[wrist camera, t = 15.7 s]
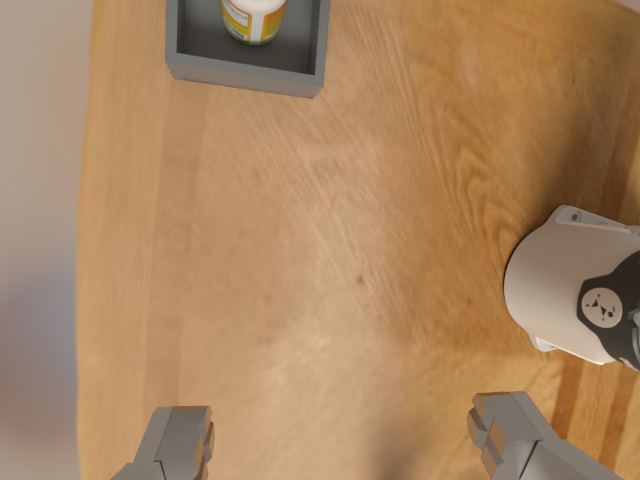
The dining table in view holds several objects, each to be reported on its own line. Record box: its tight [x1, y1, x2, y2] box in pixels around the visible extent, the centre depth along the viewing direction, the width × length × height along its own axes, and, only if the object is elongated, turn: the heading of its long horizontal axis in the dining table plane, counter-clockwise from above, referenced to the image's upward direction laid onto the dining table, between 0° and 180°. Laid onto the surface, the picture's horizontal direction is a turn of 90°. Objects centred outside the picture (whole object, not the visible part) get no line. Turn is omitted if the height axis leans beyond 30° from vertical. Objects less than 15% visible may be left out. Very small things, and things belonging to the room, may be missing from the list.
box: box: [165, 0, 330, 99], centre depth 31 cm, size 13×13×4 cm
